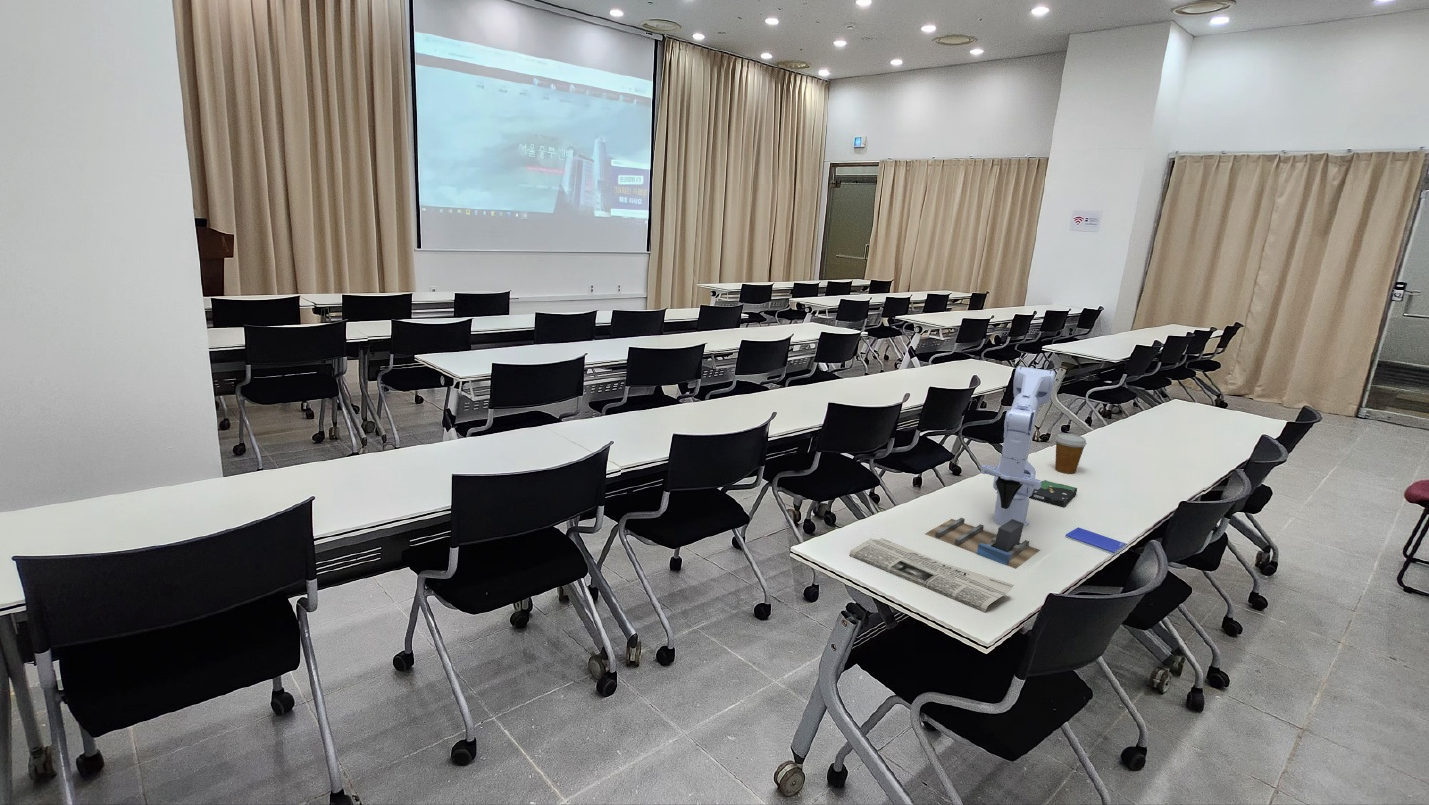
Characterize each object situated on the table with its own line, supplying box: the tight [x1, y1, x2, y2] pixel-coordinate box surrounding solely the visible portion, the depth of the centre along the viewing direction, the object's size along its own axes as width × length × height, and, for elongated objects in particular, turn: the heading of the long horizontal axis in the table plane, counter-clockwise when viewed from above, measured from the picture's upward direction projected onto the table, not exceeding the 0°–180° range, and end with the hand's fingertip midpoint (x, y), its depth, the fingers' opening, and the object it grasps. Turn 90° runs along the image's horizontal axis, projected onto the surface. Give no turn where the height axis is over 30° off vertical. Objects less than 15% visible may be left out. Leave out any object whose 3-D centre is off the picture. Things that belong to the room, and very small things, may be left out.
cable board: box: [924, 517, 1041, 569], centre depth 180 cm, size 15×24×3 cm, turn 45°
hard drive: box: [1064, 526, 1128, 556], centre depth 185 cm, size 2×8×12 cm
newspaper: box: [849, 537, 1015, 613], centre depth 163 cm, size 35×12×4 cm, turn 47°
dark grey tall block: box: [994, 519, 1025, 553], centre depth 174 cm, size 8×3×7 cm, turn 135°
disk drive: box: [1028, 479, 1078, 509], centre depth 215 cm, size 10×3×15 cm
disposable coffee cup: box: [1054, 432, 1087, 475], centre depth 238 cm, size 10×10×12 cm
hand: (1005, 507), depth 178 cm, fingers closed
